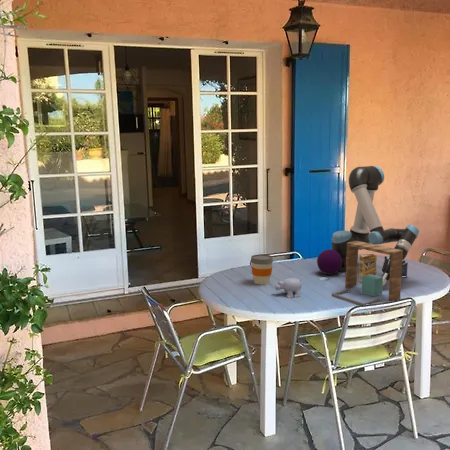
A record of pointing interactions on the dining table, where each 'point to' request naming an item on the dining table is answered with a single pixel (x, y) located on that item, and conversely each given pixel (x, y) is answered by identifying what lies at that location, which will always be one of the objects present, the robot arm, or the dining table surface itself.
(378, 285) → the teal block
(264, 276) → the reusable coffee cup
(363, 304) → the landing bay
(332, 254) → the toy ball
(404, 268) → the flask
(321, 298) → the dining table surface
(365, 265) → the candy box
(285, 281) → the hippopotamus toy
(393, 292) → the tunnel
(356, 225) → the robot arm
